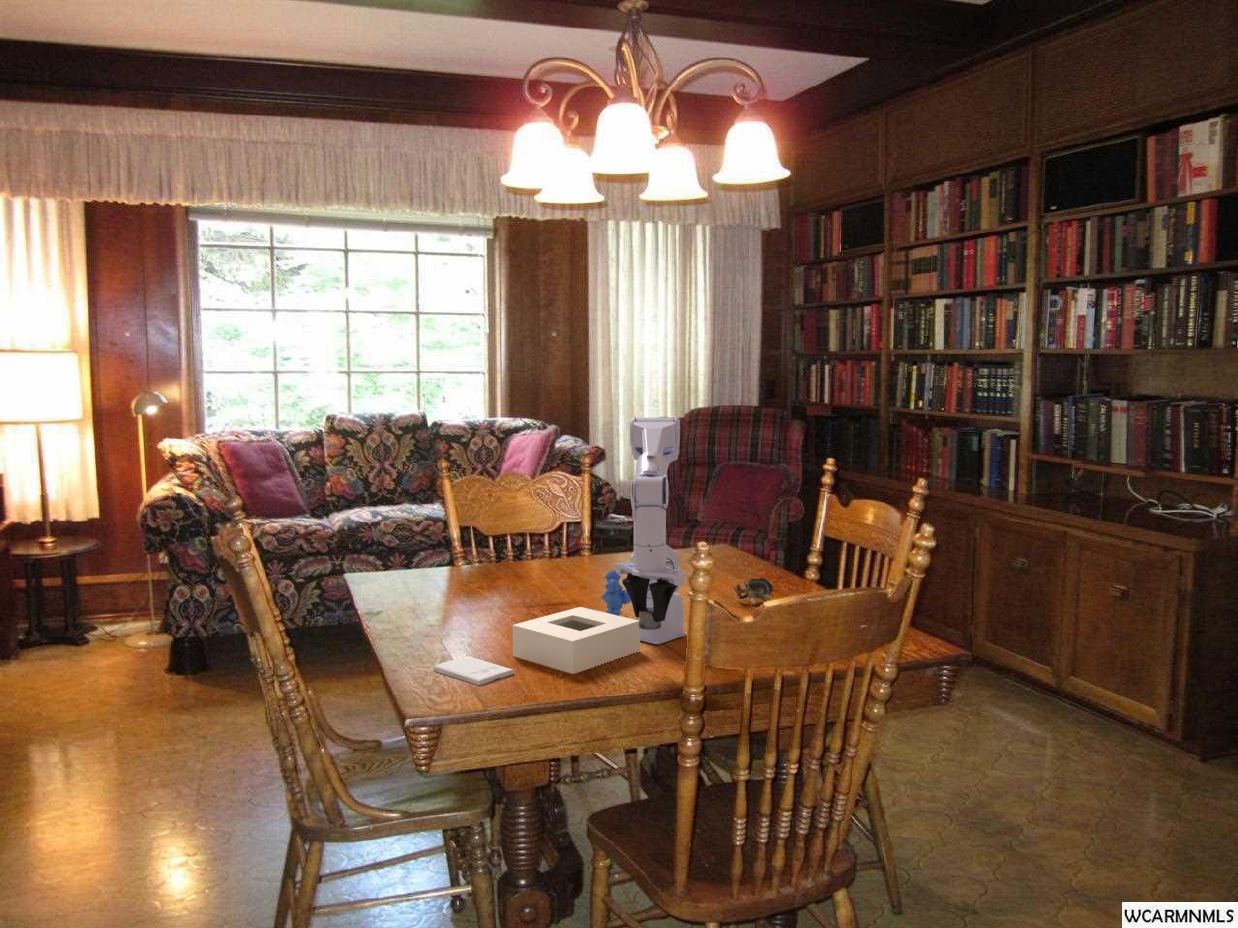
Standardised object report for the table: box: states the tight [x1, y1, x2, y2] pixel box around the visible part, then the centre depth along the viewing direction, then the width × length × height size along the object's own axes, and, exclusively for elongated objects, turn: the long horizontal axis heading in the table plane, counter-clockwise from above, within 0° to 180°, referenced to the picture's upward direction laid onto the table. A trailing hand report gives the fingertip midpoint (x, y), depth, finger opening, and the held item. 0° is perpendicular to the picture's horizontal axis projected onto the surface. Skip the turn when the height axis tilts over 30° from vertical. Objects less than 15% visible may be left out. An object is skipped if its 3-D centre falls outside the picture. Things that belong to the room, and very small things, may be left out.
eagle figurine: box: [732, 577, 774, 604], centre depth 224 cm, size 8×7×9 cm
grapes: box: [601, 569, 631, 616], centre depth 207 cm, size 12×7×12 cm, turn 0°
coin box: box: [511, 606, 641, 675], centre depth 187 cm, size 18×16×6 cm
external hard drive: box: [433, 655, 515, 686], centre depth 177 cm, size 2×8×12 cm
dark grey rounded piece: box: [639, 607, 661, 630], centre depth 177 cm, size 4×4×3 cm
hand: (649, 618), depth 177 cm, fingers closed on dark grey rounded piece, 4 cm apart
